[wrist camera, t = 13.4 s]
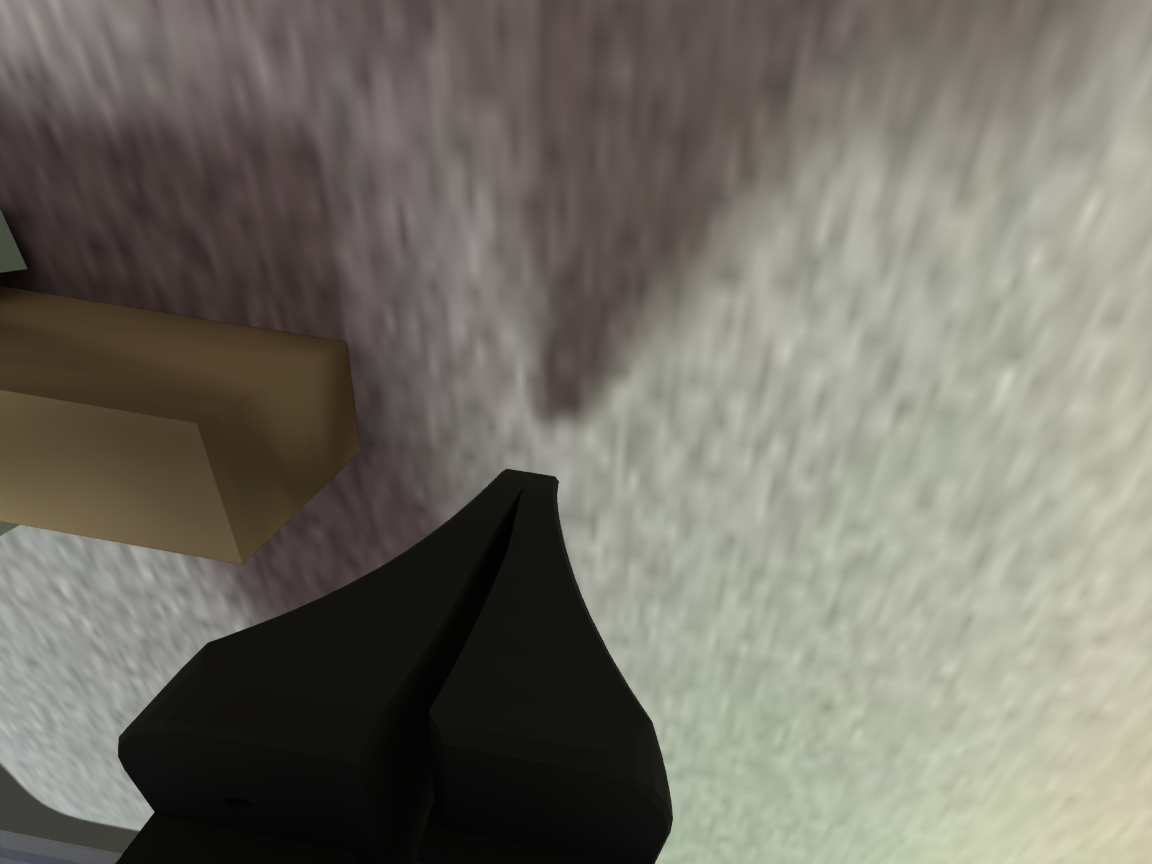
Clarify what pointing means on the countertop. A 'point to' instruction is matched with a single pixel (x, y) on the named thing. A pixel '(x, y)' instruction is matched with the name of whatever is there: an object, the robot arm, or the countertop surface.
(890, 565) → the countertop surface
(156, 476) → the bar
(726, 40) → the countertop surface
